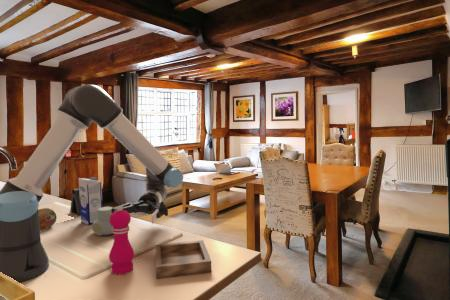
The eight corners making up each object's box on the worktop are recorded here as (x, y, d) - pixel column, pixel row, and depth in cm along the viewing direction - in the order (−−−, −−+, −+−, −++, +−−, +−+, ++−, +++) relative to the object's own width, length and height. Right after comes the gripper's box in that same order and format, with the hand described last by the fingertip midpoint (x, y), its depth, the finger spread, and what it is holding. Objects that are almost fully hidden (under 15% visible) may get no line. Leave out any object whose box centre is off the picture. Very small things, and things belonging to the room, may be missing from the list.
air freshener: (89, 233, 126) (87, 209, 125) (107, 227, 133) (105, 204, 131) (106, 239, 120) (105, 213, 119) (124, 232, 127) (123, 208, 125)
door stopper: (70, 212, 153) (68, 188, 152) (82, 209, 158) (80, 185, 156) (79, 215, 148) (78, 190, 146) (91, 212, 152) (90, 188, 151)
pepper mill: (109, 277, 92) (105, 210, 89) (110, 265, 99) (107, 203, 96) (135, 273, 94) (132, 207, 91) (134, 262, 101) (132, 201, 98)
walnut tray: (156, 278, 91) (156, 267, 90) (155, 254, 106) (155, 244, 106) (211, 272, 94) (211, 261, 94) (203, 249, 110) (203, 240, 109)
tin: (14, 234, 125) (12, 214, 124) (14, 232, 127) (12, 212, 126) (57, 226, 134) (55, 207, 133) (56, 224, 136) (54, 205, 135)
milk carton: (80, 222, 139) (78, 177, 136) (95, 218, 144) (93, 175, 142) (88, 225, 134) (86, 179, 132) (103, 221, 139) (101, 177, 137)
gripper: (181, 210, 126) (170, 230, 105) (119, 210, 127) (96, 230, 106) (180, 191, 125) (169, 208, 104) (118, 192, 126) (94, 208, 105)
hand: (132, 219), depth 105 cm, fingers open, 13 cm apart
